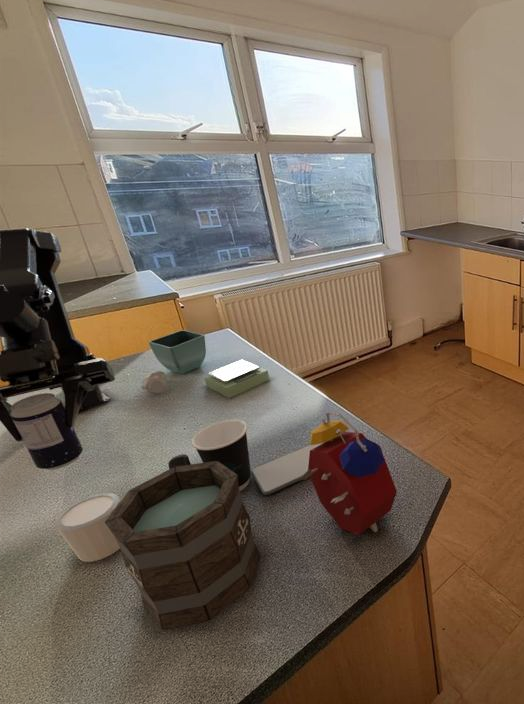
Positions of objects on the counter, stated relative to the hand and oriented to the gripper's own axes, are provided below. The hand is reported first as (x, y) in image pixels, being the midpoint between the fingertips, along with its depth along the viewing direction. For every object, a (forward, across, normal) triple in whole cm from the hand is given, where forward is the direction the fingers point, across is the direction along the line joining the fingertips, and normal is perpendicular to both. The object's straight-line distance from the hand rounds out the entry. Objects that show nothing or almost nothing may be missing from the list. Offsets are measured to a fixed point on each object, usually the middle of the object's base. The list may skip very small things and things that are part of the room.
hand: (45, 433), depth 69 cm
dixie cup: (+19, +22, -2) cm, 29 cm away
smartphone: (+21, +32, -4) cm, 39 cm away
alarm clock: (+34, +35, -17) cm, 52 cm away
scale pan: (-10, +28, +24) cm, 39 cm away
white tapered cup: (+21, +4, -4) cm, 22 cm away
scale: (-8, +29, +26) cm, 39 cm away
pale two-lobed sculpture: (-14, +12, +32) cm, 37 cm away
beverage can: (+4, 0, +6) cm, 7 cm away
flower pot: (-20, +19, +38) cm, 47 cm away
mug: (+30, +16, -13) cm, 36 cm away
